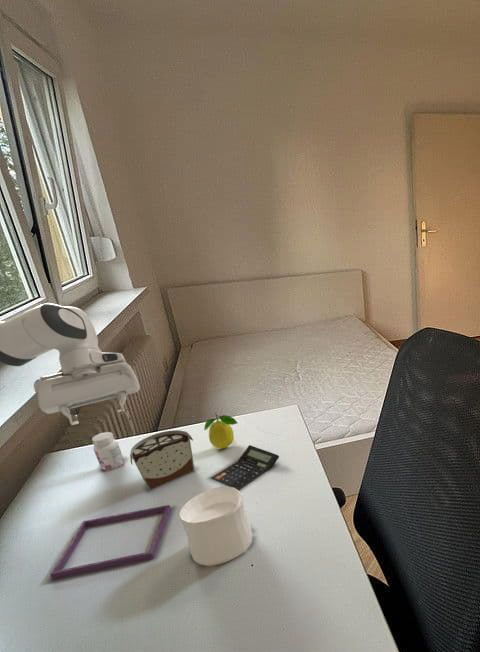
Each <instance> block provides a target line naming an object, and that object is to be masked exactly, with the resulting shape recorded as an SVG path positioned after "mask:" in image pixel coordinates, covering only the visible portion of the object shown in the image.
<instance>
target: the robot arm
mask: <svg viewBox="0 0 480 652" xmlns="http://www.w3.org/2000/svg"><path fill="white" fill-rule="evenodd" d="M53 350H56V351H58V353H59V354H58V355H59V356H58V361H59V364H60V368H61V372H57V373H53V374H49V375H42V376H40V377H39V378H38V379H36V380H35V381H34V382H33V389H34V392H35V393H36V394H37V402H38V407H39V409H40V410H41V411H42V412H43V413H45V414H47V415H50V414H54V413H59V412H61V413H62V415H64V416H65V417H66V418H68V420H69V423H70V425H71V426H74V425H78V424H80V421H79V417H78V415H77V414H71V409H75V408H80V407H83V406H88V405H92V404H95V403H99V402H102V401H107V400H111V399H116V398H119V402H118V403H115V407H116V412H117V413H118V414H119V413H124V412H125V411H126V410H125V404H126V400H127V399H128V398H127V395H131V394H135V393H138V392H139V391H140V389H141V385H140V382H139V379H138V378H137V375H136V373H135V371H134V370H133V368H132V366H131V365H130V364H129V363H127V360H126V358H125V356H124V355H123V354H122V353H121V352H103V351H102V349H100V347H99V338H98V335H97V332H96V329H95V326H94V325H93V323H92V320H91V319H90V317H89V315H88V313H86V312H85V311H84V310H83V309H81V308H78V307H75V306H62V305H60V304H56V303H52V302H45V303H42V304H39V305H37V306H35V307H33V308H30V309H28V310H26V311H24V312H23V313H20V314H18V315H16V316H14V317H11V318H9V319H6V320H0V364H2V365H6V366H11V367H23V366H24V365H26V364H28V363H30V362H32V361H33V360H35V359H37V357H39V356H41V355H44V354H46V353H48V352H50V351H53Z"/></svg>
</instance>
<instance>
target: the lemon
mask: <svg viewBox="0 0 480 652" xmlns="http://www.w3.org/2000/svg"><path fill="white" fill-rule="evenodd" d="M214 415H215V417H216V418H209V419H207V420H206V421H205V424H204V431H207V430H208V429H209V430H208V439H209V442H210V444H211V445H212V446H213V447H214V448H216V449H226V448H227V447H229V446H230V445H232V444H233V443H234V439H235V435H234V430H233V428H232V425H237V424H238V422H237V419H235V418H234V417H232V416H231V415H226V414H223V415H218V414H217V412H214Z"/></svg>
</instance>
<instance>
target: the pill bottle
mask: <svg viewBox="0 0 480 652" xmlns="http://www.w3.org/2000/svg"><path fill="white" fill-rule="evenodd" d="M91 441H92V445H93V452H94V454H95V457H96V459H97V462H98V464H99V467H100V469H101V470H102V471H110V470H114V469H117V468H119V467H122V466H125V464H126V462H125V458H124V456H123V453H122V450H121V447H120V445H119V442H118V440H117V439H116V438H115V437H114V434H113V433H112V432H111V431H103V432H100V433H98V434H96V435H94V436H92V438H91Z"/></svg>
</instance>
